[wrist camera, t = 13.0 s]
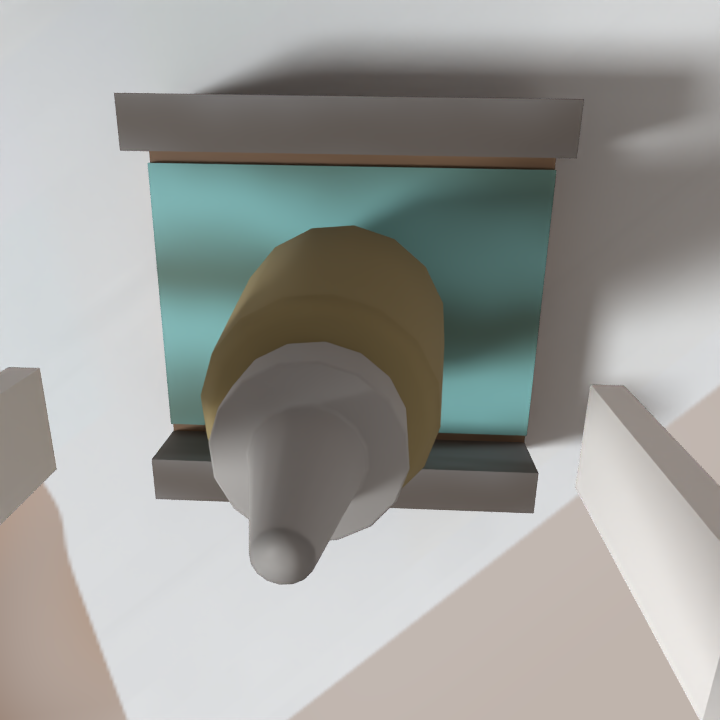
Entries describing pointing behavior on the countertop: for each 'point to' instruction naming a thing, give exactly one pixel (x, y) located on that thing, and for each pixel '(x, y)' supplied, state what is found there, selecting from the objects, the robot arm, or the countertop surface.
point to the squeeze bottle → (324, 392)
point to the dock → (374, 213)
